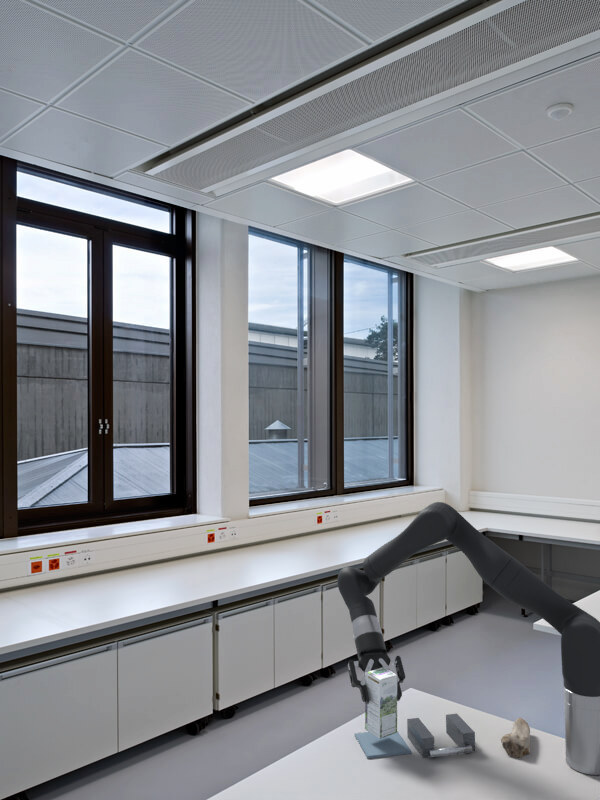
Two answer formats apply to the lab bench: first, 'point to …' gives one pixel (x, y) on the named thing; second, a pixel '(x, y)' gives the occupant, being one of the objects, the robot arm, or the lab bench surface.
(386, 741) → the mat
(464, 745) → the vise
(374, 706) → the syrup box
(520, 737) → the bone fragment
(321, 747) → the lab bench surface
